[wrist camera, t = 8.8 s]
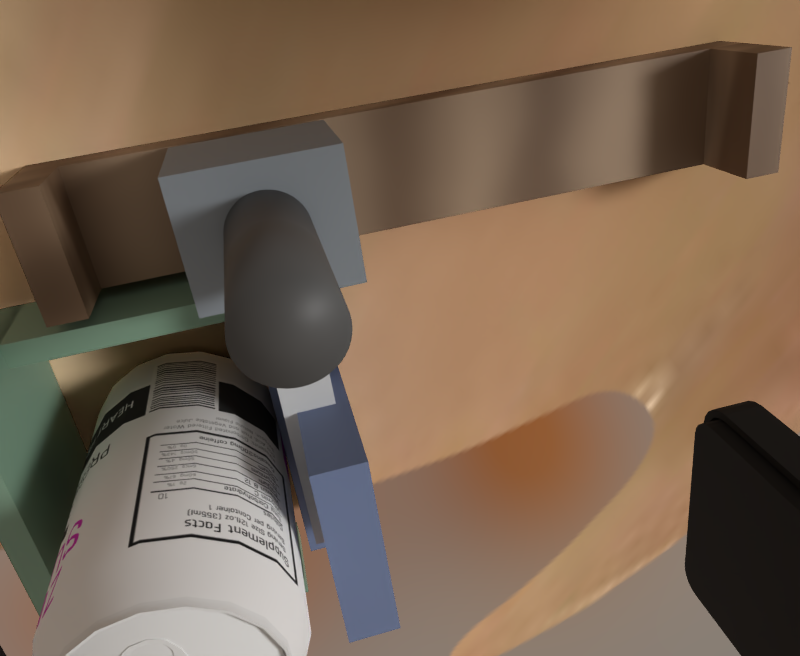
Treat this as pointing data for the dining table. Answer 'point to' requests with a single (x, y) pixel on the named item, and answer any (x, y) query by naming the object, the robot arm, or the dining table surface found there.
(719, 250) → the dining table surface
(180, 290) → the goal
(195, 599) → the supplement can
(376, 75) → the dining table surface
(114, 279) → the rail
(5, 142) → the dining table surface
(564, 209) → the dining table surface
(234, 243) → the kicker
